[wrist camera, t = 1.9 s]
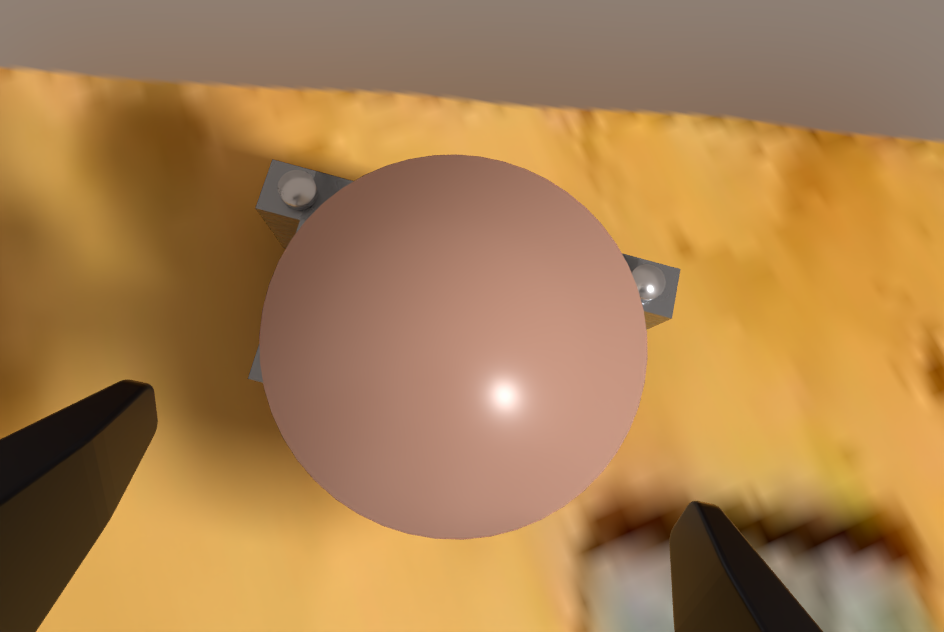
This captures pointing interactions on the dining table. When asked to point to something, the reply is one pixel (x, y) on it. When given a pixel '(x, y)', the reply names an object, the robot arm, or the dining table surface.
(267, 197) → the bracket
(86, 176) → the dining table surface
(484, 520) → the mushroom
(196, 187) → the dining table surface
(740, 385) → the dining table surface
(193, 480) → the dining table surface
